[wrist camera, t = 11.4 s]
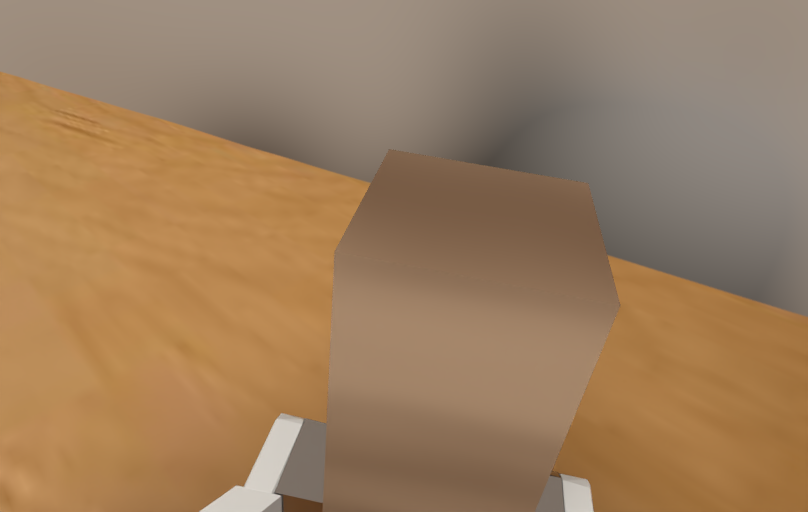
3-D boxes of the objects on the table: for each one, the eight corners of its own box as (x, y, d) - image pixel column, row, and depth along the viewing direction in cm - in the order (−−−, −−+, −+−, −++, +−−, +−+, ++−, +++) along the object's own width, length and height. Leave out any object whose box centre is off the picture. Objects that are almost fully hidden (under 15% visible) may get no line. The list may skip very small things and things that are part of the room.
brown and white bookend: (494, 774, 12) (772, 334, 5) (253, 710, 13) (201, 226, 6) (503, 425, 20) (614, 72, 13) (357, 394, 21) (389, 38, 14)
